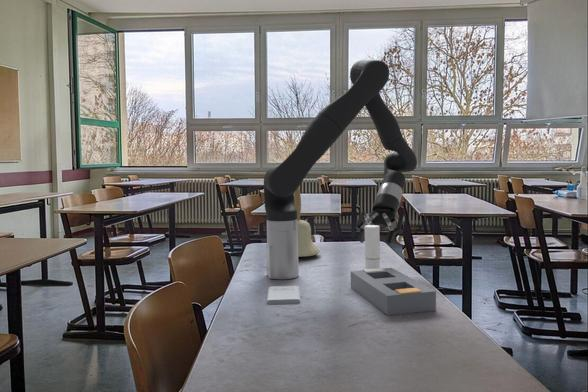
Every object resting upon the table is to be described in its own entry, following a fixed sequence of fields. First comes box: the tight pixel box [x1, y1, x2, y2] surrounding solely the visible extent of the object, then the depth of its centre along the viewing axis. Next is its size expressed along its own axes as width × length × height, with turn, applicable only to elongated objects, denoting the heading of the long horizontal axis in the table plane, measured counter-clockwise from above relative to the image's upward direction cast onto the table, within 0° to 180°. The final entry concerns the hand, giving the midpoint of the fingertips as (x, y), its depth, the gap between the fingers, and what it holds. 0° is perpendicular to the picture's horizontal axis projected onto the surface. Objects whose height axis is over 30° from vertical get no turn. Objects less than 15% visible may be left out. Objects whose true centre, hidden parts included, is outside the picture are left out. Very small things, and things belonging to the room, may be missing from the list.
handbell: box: [294, 186, 321, 258], centre depth 172 cm, size 15×15×25 cm
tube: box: [364, 224, 381, 269], centre depth 141 cm, size 4×4×15 cm
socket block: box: [350, 267, 437, 317], centre depth 121 cm, size 24×12×5 cm, turn 13°
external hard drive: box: [266, 285, 301, 305], centre depth 125 cm, size 2×8×12 cm
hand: (374, 242), depth 143 cm, fingers open, 8 cm apart
